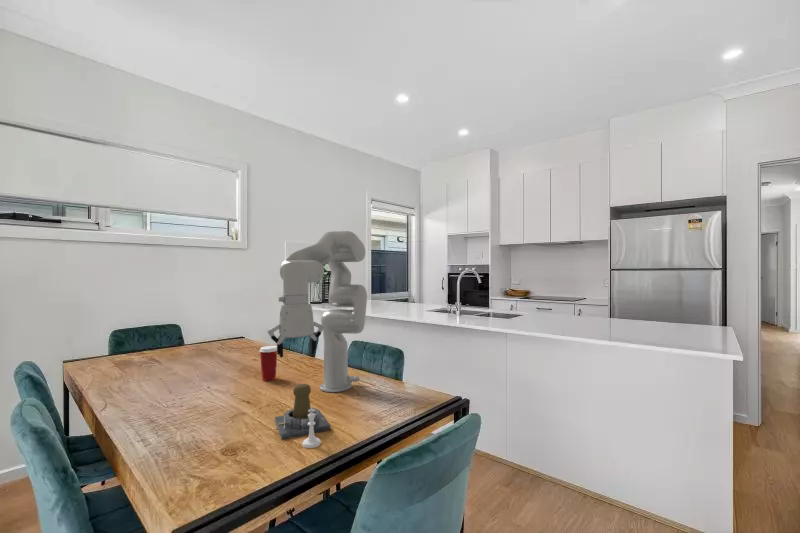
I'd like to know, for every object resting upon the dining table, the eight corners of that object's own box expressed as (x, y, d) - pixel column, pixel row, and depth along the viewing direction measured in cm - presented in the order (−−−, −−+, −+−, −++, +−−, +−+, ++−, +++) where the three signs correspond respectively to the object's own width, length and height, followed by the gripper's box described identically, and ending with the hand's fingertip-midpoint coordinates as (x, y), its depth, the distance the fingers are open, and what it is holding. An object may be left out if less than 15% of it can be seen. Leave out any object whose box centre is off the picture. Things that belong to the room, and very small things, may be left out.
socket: (318, 414, 127) (318, 402, 127) (330, 430, 114) (330, 417, 114) (274, 421, 121) (274, 409, 121) (281, 439, 108) (281, 425, 108)
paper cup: (281, 378, 168) (281, 346, 169) (267, 383, 162) (267, 349, 162) (270, 376, 173) (269, 344, 173) (255, 380, 166) (255, 348, 166)
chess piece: (303, 440, 107) (303, 404, 107) (321, 439, 108) (321, 404, 108) (300, 448, 102) (300, 411, 102) (319, 447, 103) (319, 410, 103)
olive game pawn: (288, 423, 115) (288, 387, 115) (297, 416, 121) (297, 381, 121) (306, 425, 114) (306, 388, 114) (315, 417, 120) (315, 382, 120)
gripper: (268, 302, 113) (269, 360, 113) (326, 299, 120) (327, 353, 121) (265, 300, 119) (266, 355, 120) (319, 297, 127) (320, 348, 127)
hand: (296, 354), depth 120 cm, fingers open, 9 cm apart
